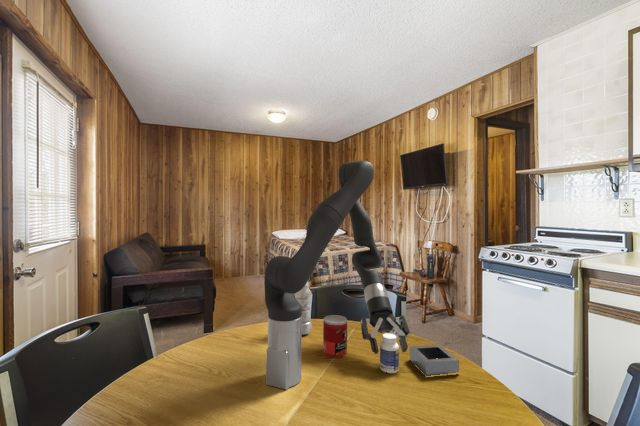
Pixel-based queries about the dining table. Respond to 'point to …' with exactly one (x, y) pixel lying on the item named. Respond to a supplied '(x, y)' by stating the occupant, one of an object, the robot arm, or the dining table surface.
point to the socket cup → (434, 360)
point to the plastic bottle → (305, 308)
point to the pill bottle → (389, 353)
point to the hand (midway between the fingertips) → (390, 352)
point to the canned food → (335, 336)
